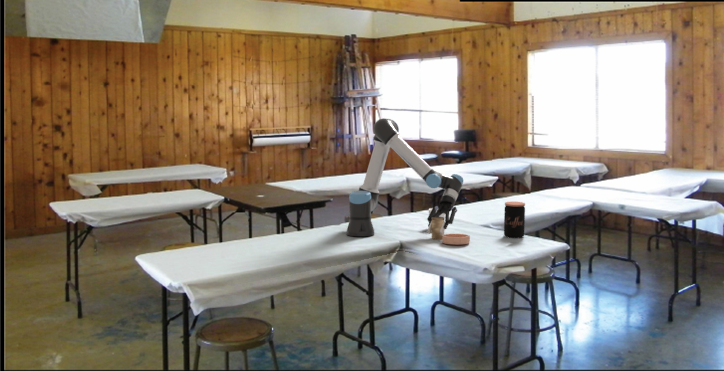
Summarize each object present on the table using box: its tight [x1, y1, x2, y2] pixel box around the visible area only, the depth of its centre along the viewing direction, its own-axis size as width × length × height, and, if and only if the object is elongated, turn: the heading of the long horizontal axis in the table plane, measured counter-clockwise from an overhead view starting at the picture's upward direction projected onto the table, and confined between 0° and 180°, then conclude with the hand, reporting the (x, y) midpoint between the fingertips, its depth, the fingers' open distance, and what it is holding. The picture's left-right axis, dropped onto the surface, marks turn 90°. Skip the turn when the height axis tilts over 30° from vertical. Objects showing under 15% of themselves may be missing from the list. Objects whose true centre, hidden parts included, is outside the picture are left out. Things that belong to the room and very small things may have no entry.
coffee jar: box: [503, 201, 526, 239], centre depth 358 cm, size 11×11×18 cm
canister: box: [431, 217, 445, 241], centre depth 351 cm, size 7×7×11 cm
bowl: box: [441, 233, 471, 246], centre depth 339 cm, size 14×14×4 cm
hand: (434, 232), depth 348 cm, fingers closed on canister, 6 cm apart
